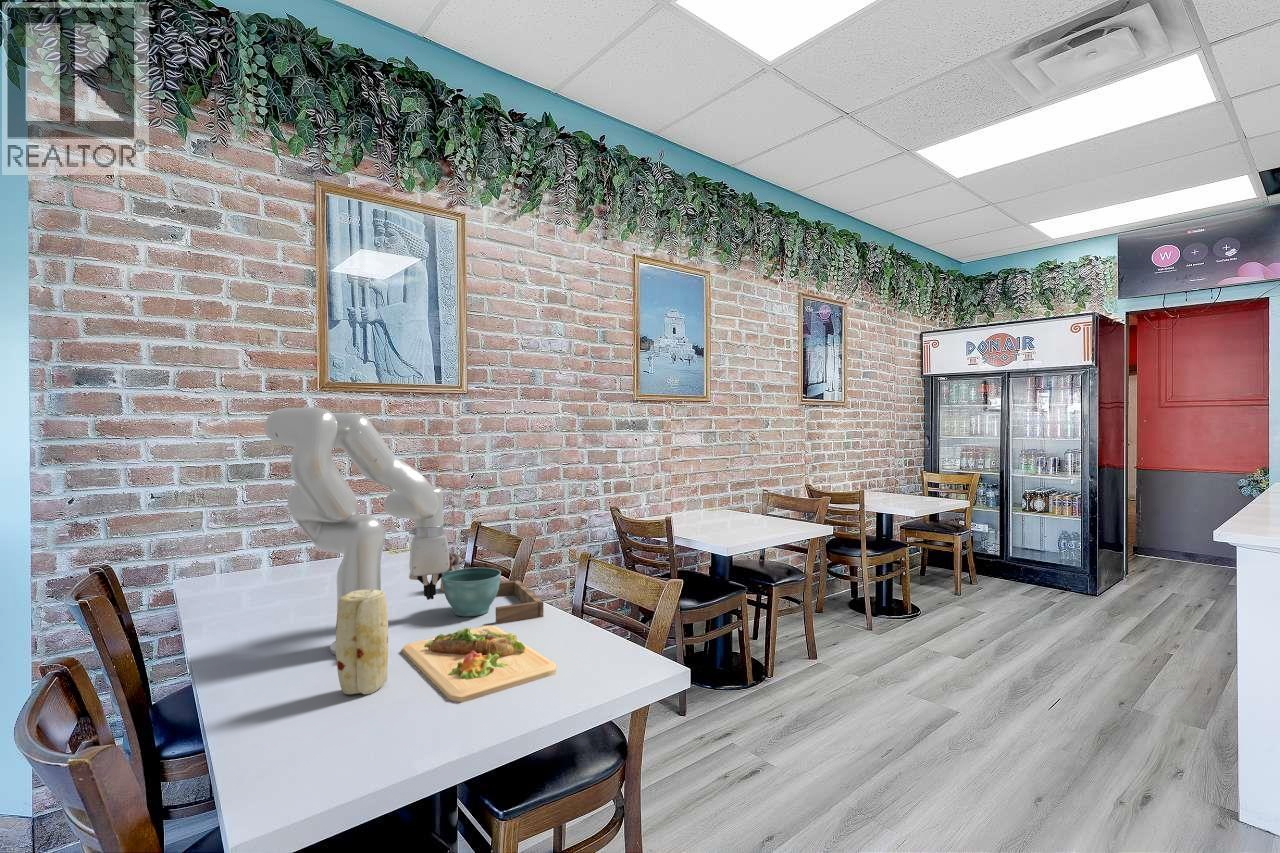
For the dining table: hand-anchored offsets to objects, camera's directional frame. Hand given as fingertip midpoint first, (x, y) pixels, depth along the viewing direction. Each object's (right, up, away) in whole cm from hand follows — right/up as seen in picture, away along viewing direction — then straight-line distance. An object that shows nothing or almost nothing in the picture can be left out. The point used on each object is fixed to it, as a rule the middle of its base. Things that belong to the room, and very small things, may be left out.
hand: (429, 598), depth 163 cm
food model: (+3, -6, -45) cm, 45 cm away
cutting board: (+21, -6, -30) cm, 37 cm away
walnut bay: (+19, -5, +9) cm, 22 cm away
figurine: (-2, -5, +27) cm, 27 cm away
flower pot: (+10, -5, +4) cm, 12 cm away
